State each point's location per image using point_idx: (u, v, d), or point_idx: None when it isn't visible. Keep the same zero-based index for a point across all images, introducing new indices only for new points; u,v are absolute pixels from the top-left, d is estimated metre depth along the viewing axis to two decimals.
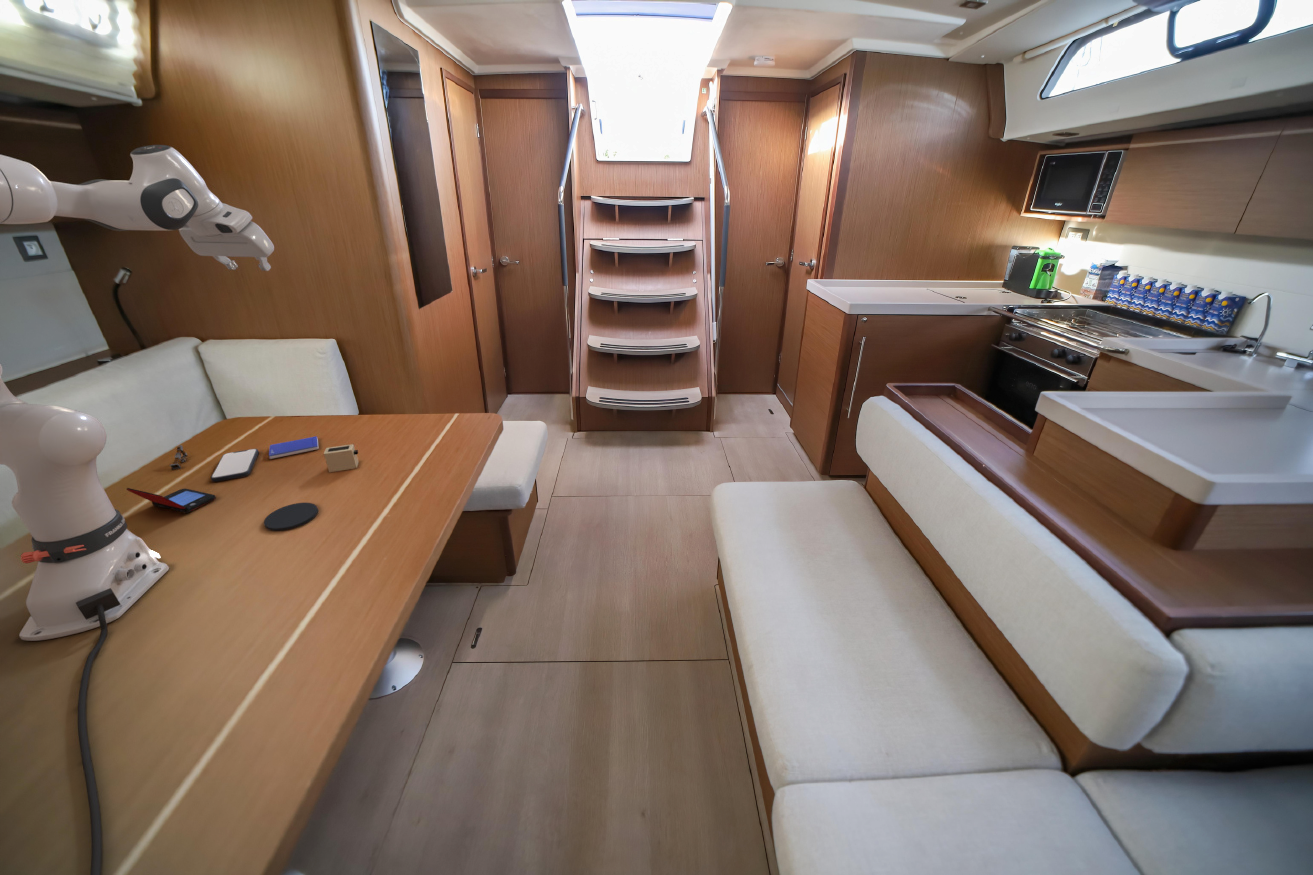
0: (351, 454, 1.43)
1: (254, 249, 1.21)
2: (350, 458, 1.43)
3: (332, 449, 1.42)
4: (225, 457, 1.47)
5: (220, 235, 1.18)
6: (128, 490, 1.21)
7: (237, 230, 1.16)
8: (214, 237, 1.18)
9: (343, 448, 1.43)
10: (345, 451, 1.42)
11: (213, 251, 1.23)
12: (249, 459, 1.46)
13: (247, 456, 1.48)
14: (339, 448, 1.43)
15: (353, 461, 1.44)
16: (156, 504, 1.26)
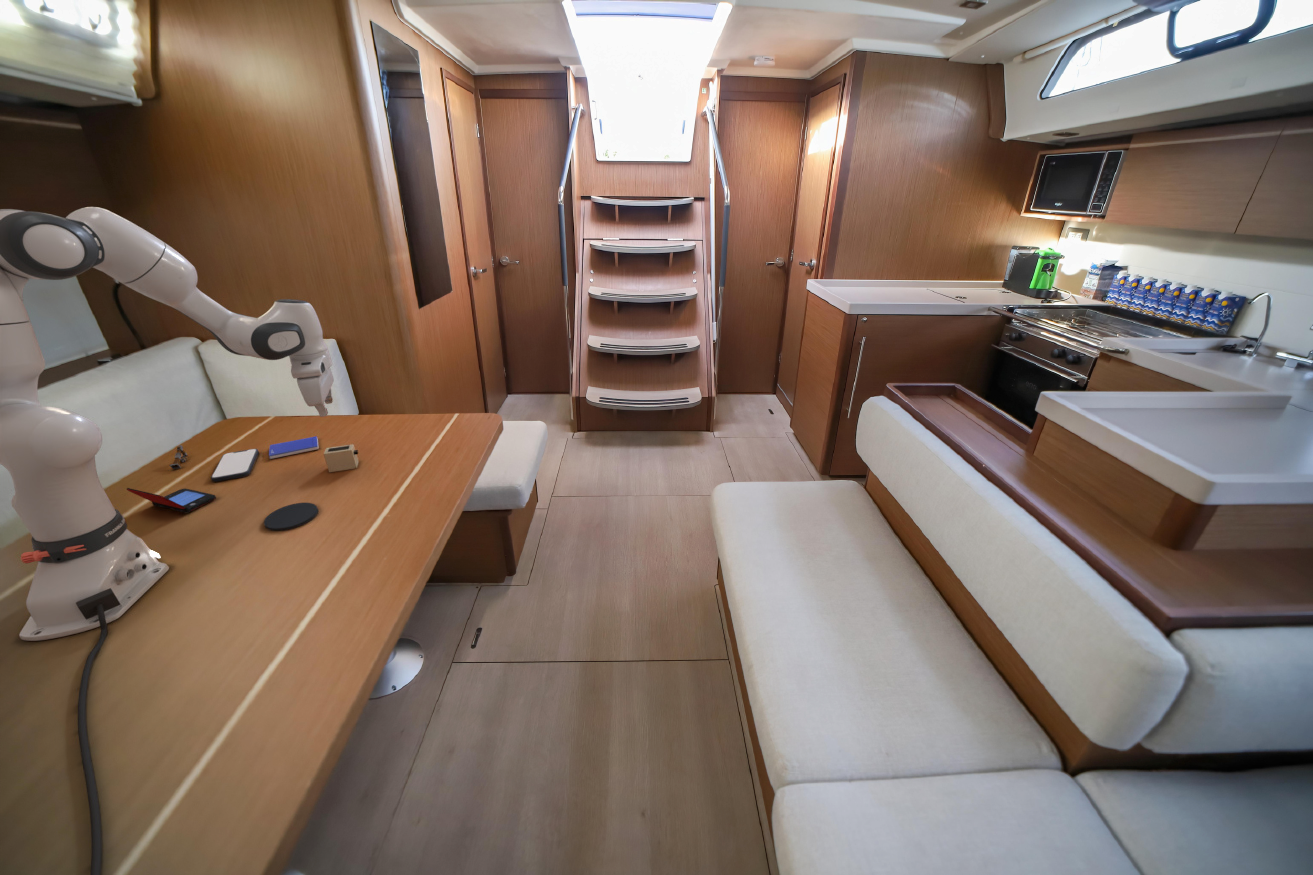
0: (351, 454, 1.43)
1: None
2: (350, 458, 1.43)
3: (332, 449, 1.42)
4: (225, 457, 1.47)
5: None
6: (128, 490, 1.21)
7: (293, 376, 1.24)
8: None
9: (343, 448, 1.43)
10: (345, 451, 1.42)
11: None
12: (249, 459, 1.46)
13: (247, 456, 1.48)
14: (339, 448, 1.43)
15: (353, 461, 1.44)
16: (156, 504, 1.26)
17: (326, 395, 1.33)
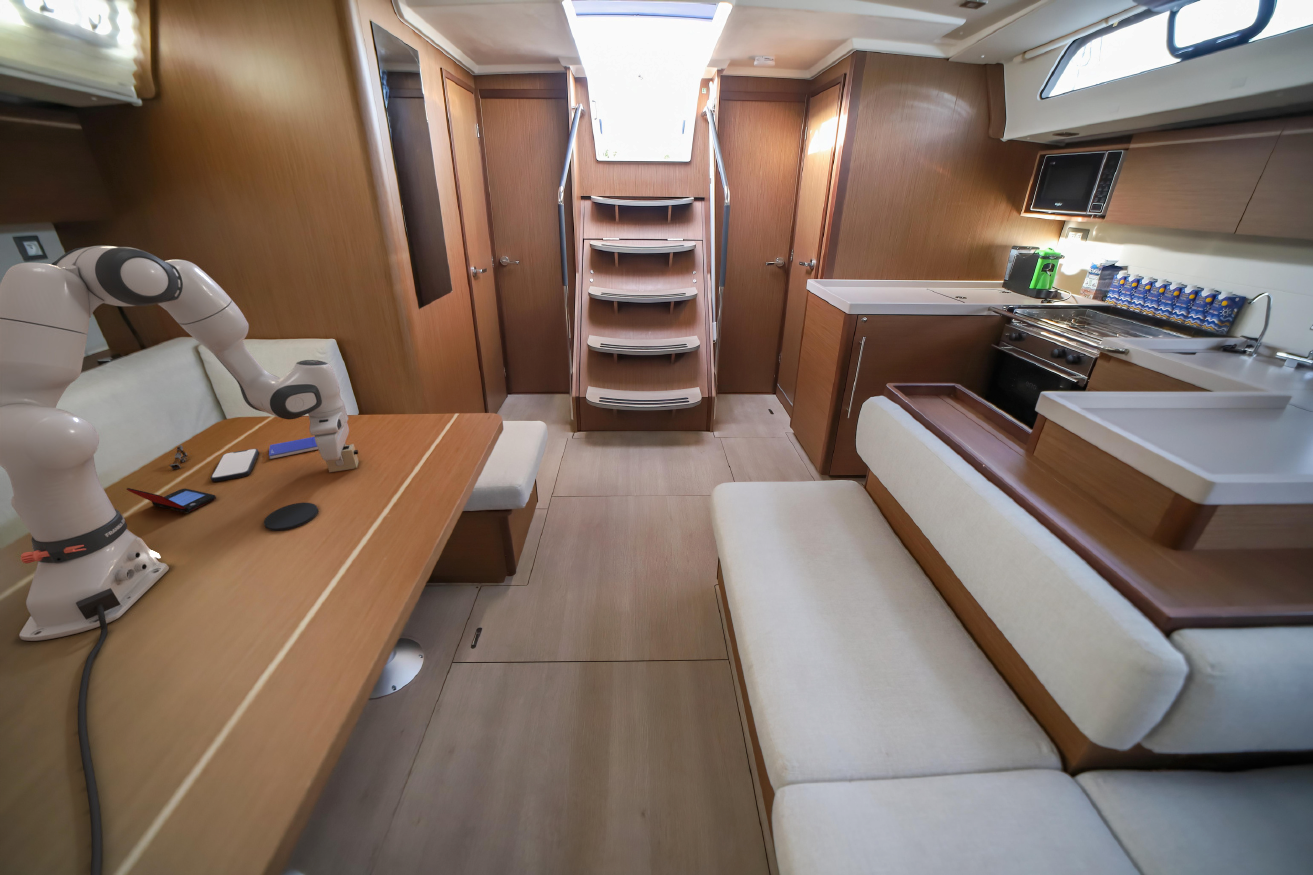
0: (351, 454, 1.43)
1: None
2: (350, 458, 1.43)
3: None
4: (225, 457, 1.47)
5: None
6: (128, 490, 1.21)
7: (311, 434, 1.31)
8: None
9: (343, 448, 1.43)
10: (345, 451, 1.42)
11: None
12: (249, 459, 1.46)
13: (247, 456, 1.48)
14: None
15: (353, 461, 1.44)
16: (156, 504, 1.26)
17: None
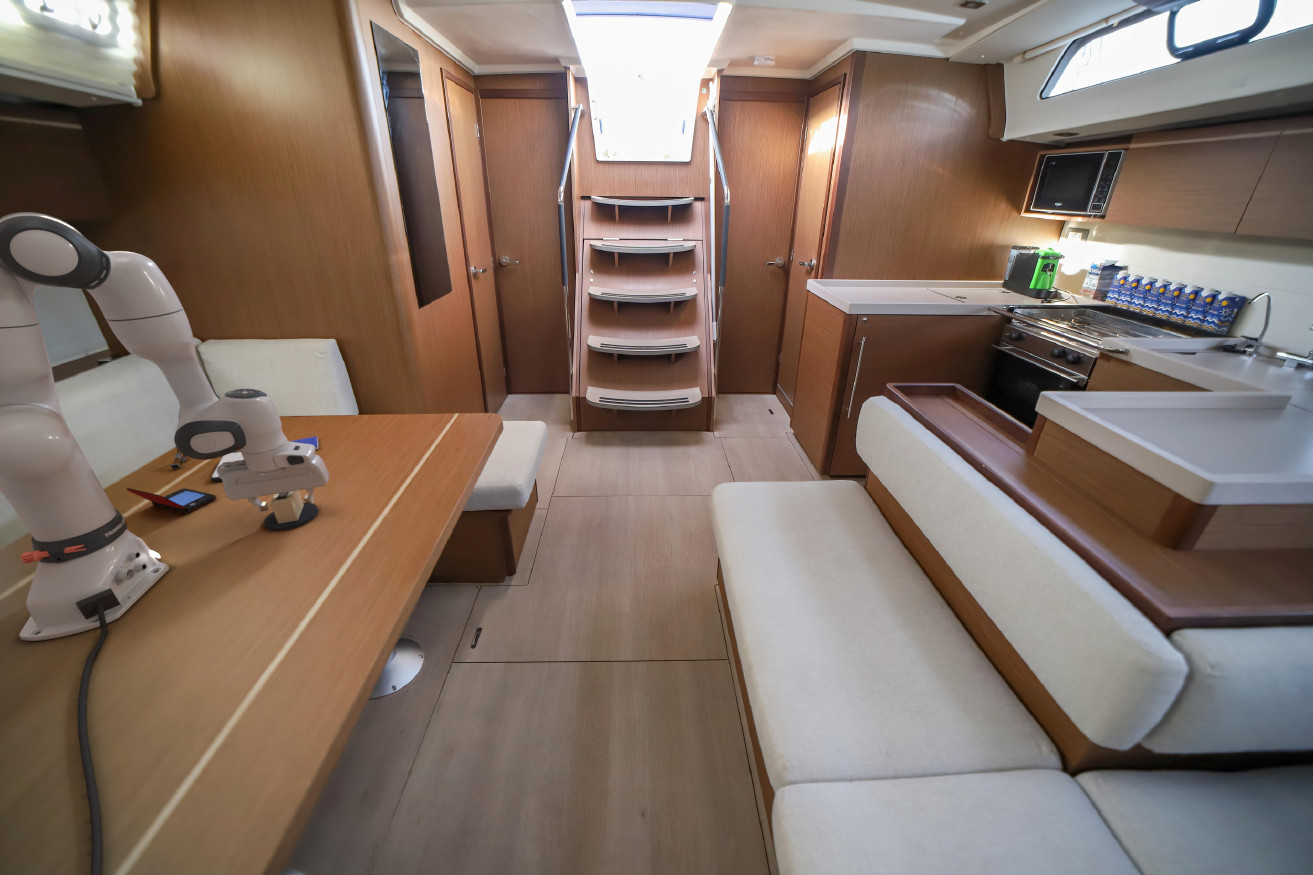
0: (298, 490, 1.24)
1: (314, 479, 1.19)
2: (299, 495, 1.24)
3: (283, 496, 1.19)
4: (225, 457, 1.47)
5: (281, 470, 1.15)
6: (128, 490, 1.21)
7: (310, 459, 1.16)
8: (274, 472, 1.15)
9: None
10: None
11: (256, 491, 1.16)
12: None
13: None
14: None
15: (301, 498, 1.25)
16: (156, 504, 1.26)
17: None
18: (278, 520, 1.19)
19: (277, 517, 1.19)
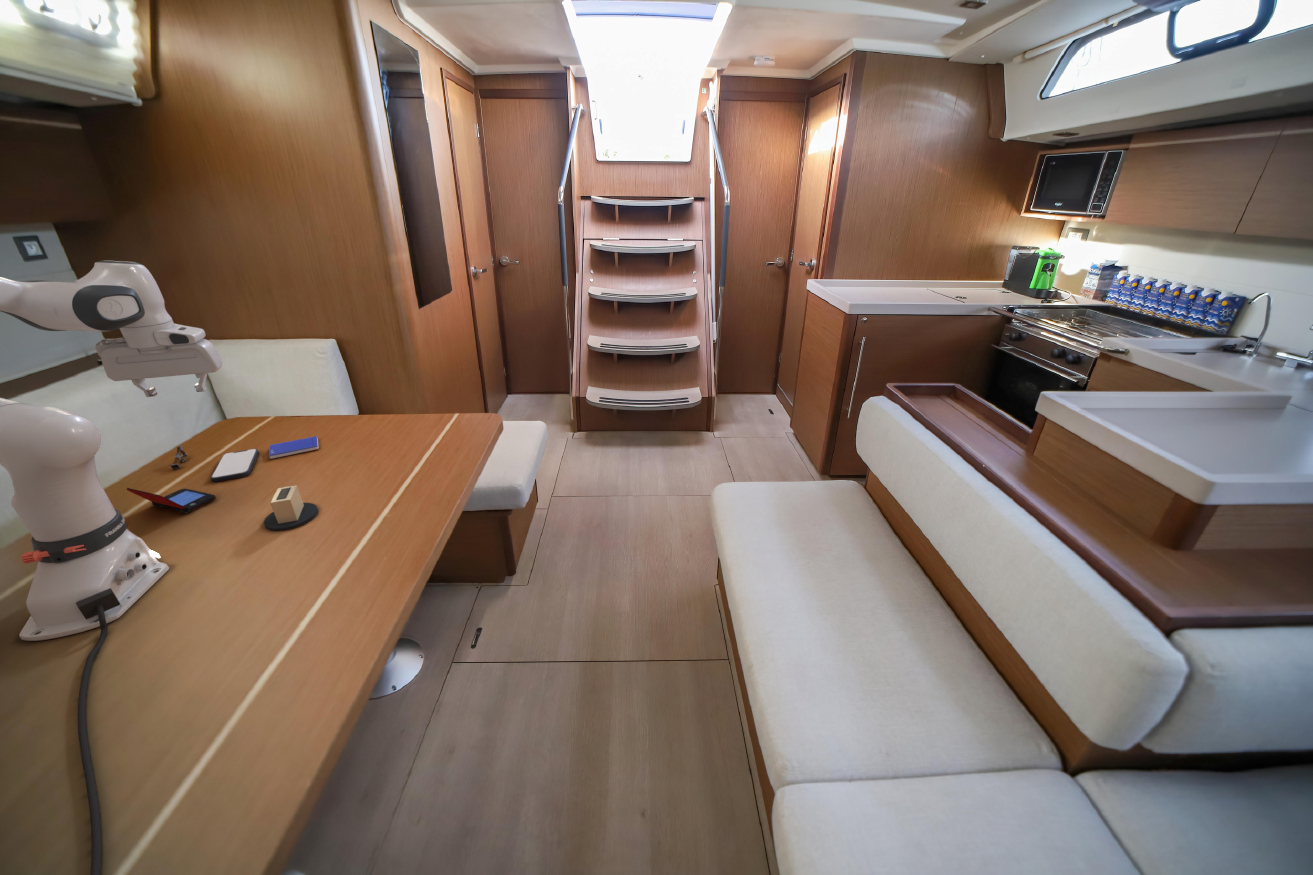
0: (298, 490, 1.24)
1: (202, 363, 1.16)
2: (299, 495, 1.24)
3: (283, 496, 1.19)
4: (225, 457, 1.47)
5: (165, 350, 1.12)
6: (128, 490, 1.21)
7: (195, 340, 1.13)
8: (157, 351, 1.11)
9: (286, 490, 1.21)
10: (295, 489, 1.23)
11: (140, 372, 1.13)
12: (249, 459, 1.46)
13: (247, 456, 1.48)
14: (283, 492, 1.20)
15: (301, 498, 1.25)
16: (156, 504, 1.26)
17: None
18: (278, 520, 1.19)
19: (277, 517, 1.19)
